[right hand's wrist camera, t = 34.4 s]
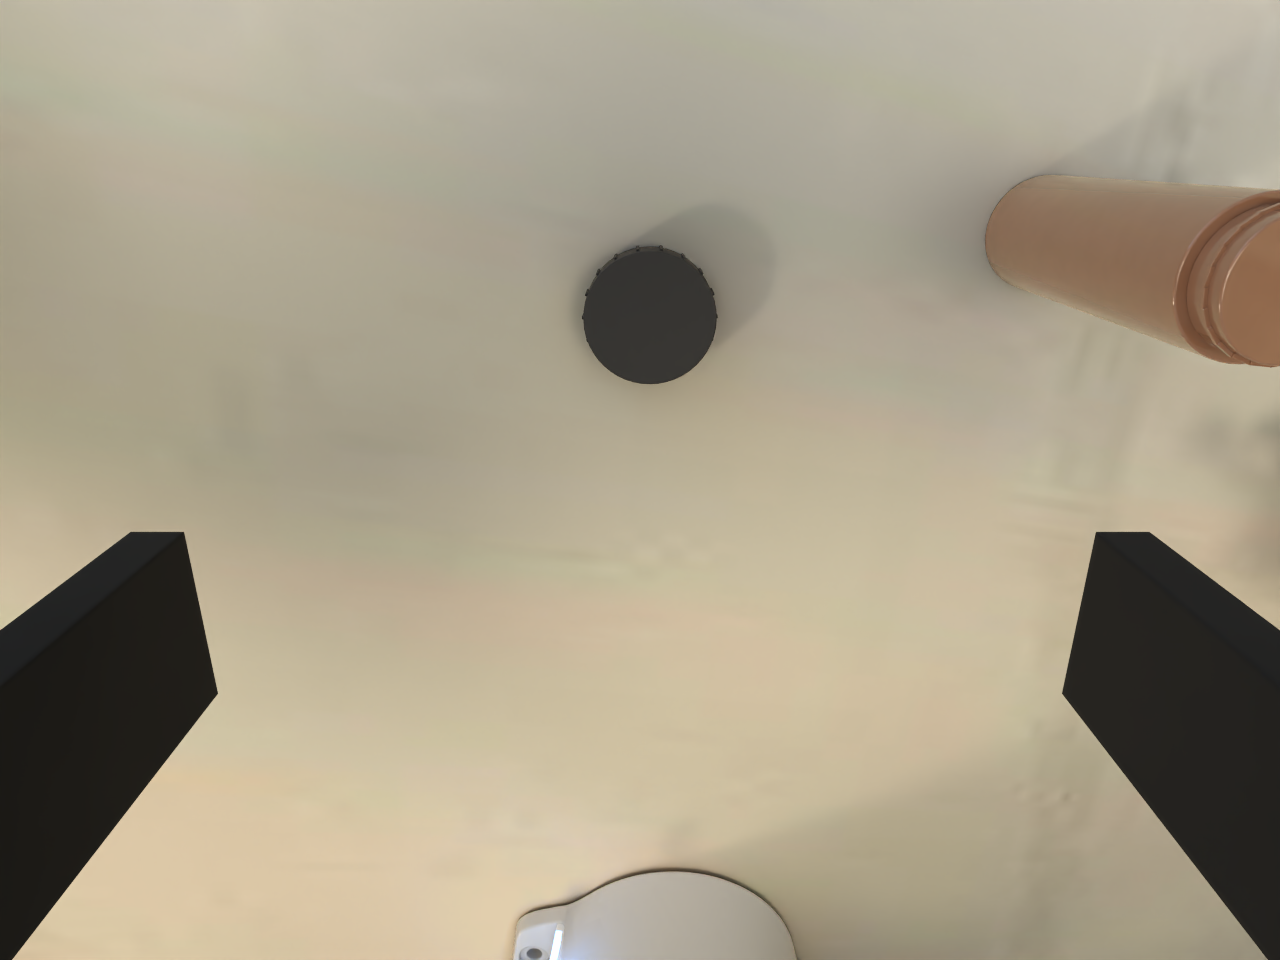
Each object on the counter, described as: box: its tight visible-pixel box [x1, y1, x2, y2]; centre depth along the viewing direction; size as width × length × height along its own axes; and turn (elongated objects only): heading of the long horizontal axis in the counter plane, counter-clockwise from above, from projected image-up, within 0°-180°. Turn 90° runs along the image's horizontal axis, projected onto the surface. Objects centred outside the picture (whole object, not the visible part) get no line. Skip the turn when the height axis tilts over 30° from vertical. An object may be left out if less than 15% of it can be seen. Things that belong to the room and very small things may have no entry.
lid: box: [582, 246, 718, 384], centre depth 36 cm, size 6×6×2 cm
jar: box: [985, 175, 1280, 367], centre depth 29 cm, size 5×5×15 cm
